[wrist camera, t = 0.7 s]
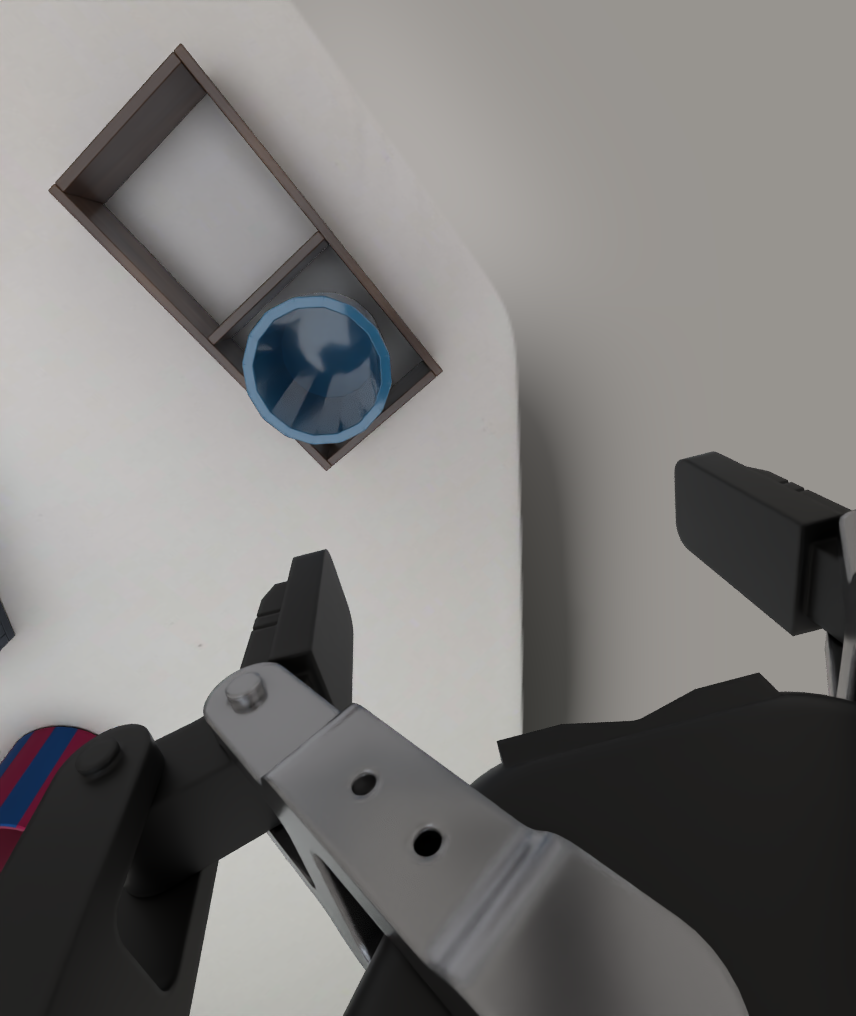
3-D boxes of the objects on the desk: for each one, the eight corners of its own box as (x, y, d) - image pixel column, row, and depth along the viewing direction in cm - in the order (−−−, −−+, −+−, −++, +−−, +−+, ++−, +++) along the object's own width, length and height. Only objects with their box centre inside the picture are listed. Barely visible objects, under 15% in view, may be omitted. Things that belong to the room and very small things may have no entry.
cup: (127, 797, 37) (80, 901, 31) (-31, 803, 36) (-114, 913, 29) (113, 723, 35) (59, 821, 28) (-58, 727, 33) (-155, 830, 27)
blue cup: (267, 295, 26) (230, 299, 18) (378, 289, 26) (385, 292, 19) (284, 405, 28) (257, 449, 21) (386, 398, 28) (395, 438, 21)
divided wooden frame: (89, 202, 23) (47, 190, 20) (206, 76, 22) (180, 42, 19) (330, 450, 29) (326, 471, 26) (433, 360, 28) (443, 371, 25)
